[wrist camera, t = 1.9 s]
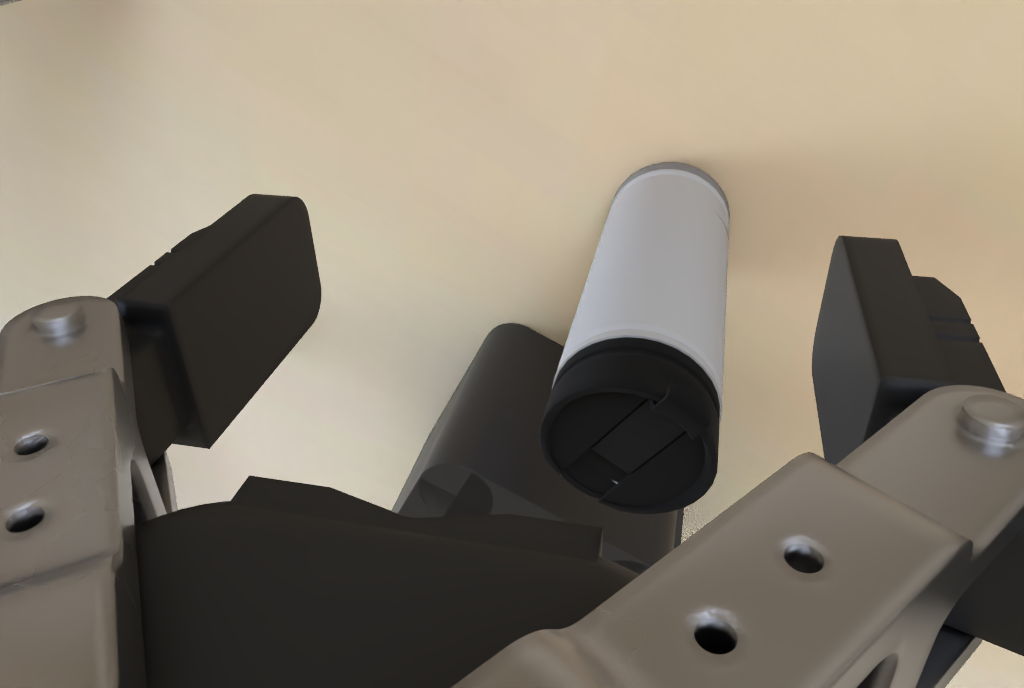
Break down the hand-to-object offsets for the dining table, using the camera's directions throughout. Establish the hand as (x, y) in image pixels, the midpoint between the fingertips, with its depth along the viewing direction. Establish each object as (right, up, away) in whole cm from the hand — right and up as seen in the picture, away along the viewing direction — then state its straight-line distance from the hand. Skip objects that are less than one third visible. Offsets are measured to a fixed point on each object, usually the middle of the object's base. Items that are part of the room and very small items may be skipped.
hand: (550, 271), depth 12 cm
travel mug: (+8, +6, +31) cm, 32 cm away
